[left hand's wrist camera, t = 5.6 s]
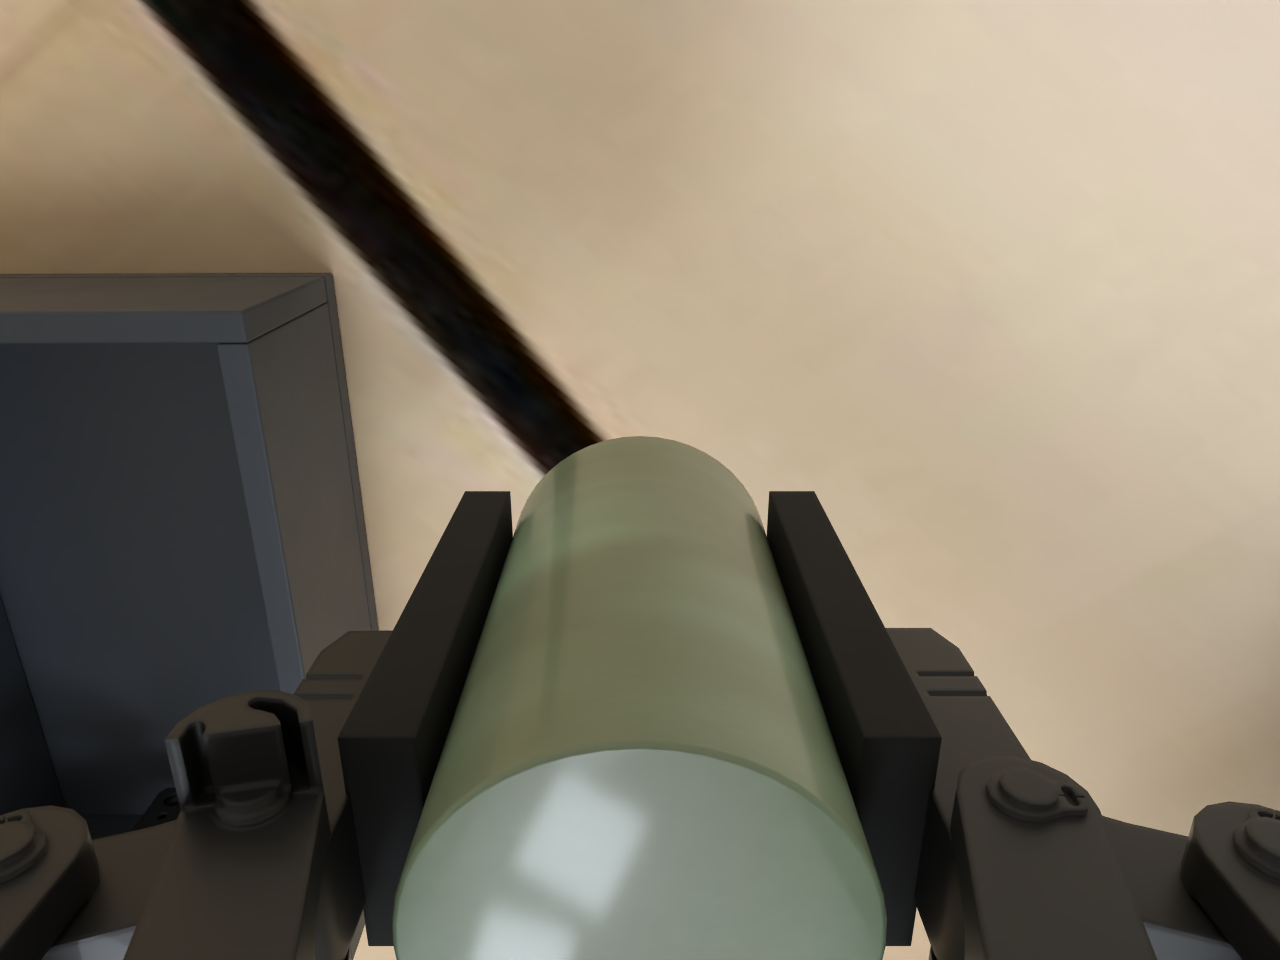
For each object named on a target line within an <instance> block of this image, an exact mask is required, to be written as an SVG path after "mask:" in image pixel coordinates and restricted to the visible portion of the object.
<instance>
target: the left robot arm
mask: <svg viewBox="0 0 1280 960" xmlns="http://www.w3.org/2000/svg"><path fill="white" fill-rule="evenodd" d="M512 539H513V533H512V515H511V498H510V491H465V493H464V495H463V497H462V499H461V501H460V503H459V505H458V507H457V508H456V510H455V512H454V514H453V516H452V518H451V520H450V522H449V524H448V526H447V528H446V530H445V532H444V533H443V535H442V537H441V539H440V541H439V543H438V545H437V547H436V549H435V551H434V553H433V555H432V557H431V559H430V560H429V562H428V564H427V566H426V568H425V570H424V572H423V574H422V576H421V578H420V580H419V582H418V584H417V585H416V587H415V589H414V591H413V593H412V595H411V597H410V599H409V601H408V603H407V605H406V607H405V609H404V611H403V612H402V614H401V616H400V618H399V620H398V622H397V624H396V626H395V628H394V630H393V631H348V632H347V633H345V634H344V635H343V636H341V637H340V638H338V639H337V640H336V641H334V642H333V643H332V644H330V645H329V646H327V647H326V648H325V649H323V650H322V651H321V652H320V654H319V655H318V657H317V658H316V660H315V661H314V663H313V664H312V666H311V668H310V669H309V671H308V672H307V674H306V679H303V680H302V681H301V683H300V685H299V686H298V688H297V689H296V691H295V692H294V694H290V693H286V692H282V691H250V692H246V693H241V694H236V695H232V696H227V697H224V698H222V699H219V700H217V701H214V702H212V703H210V704H207V705H205V706H203V707H200V708H198V709H197V710H195V711H194V712H192V713H191V714H190V715H188V716H187V717H185V718H184V719H182V720H181V721H180V722H178V723H177V724H176V725H175V727H174V728H173V729H172V731H171V732H170V733H169V734H168V736H167V737H166V738H165V740H164V741H165V746H166V750H167V754H168V758H169V762H170V767H171V771H172V775H173V779H174V784H175V788H176V792H177V796H178V801H179V805H180V809H181V811H180V814H179V816H178V819H177V820H174V821H170V822H167V823H163V824H160V825H157V826H153V827H149V828H145V829H140V830H136V831H131V832H127V833H122V834H118V835H113V836H109V837H104V838H100V839H95V840H91V836H90V833H89V829H88V826H87V822H86V820H85V819H84V818H83V817H82V816H80V815H79V814H78V813H77V812H76V811H75V810H74V809H69V808H63V807H57V806H52V805H50V806H41V807H33V808H24V809H20V810H17V811H13V812H10V813H7V814H3V815H0V960H351V954H350V948H349V946H350V944H351V941H352V938H353V936H354V933H355V930H356V927H357V925H358V922H359V919H360V917H361V914H362V911H363V912H364V918H365V925H366V932H367V938H368V945H369V946H394V945H393V928H392V915H393V907H394V900H395V893H396V890H397V887H398V884H399V881H400V877H401V874H402V871H403V868H404V865H405V862H406V859H407V856H408V853H409V850H410V847H411V844H412V841H413V838H414V835H415V832H416V829H417V826H418V823H419V820H420V817H421V814H422V811H423V808H424V805H425V802H426V799H427V796H428V792H429V789H430V786H431V783H432V780H433V777H434V774H435V771H436V768H437V765H438V762H439V759H440V756H441V753H442V750H443V747H444V744H445V741H446V738H447V735H448V732H449V729H450V726H451V723H452V720H453V717H454V714H455V711H456V708H457V705H458V702H459V699H460V696H461V693H462V690H463V687H464V684H465V681H466V678H467V675H468V672H469V669H470V666H471V663H472V660H473V657H474V654H475V651H476V648H477V645H478V642H479V639H480V636H481V633H482V630H483V627H484V624H485V621H486V618H487V615H488V612H489V609H490V606H491V603H492V600H493V597H494V593H495V590H496V587H497V584H498V581H499V578H500V575H501V572H502V569H503V566H504V563H505V560H506V557H507V554H508V551H509V548H510V545H511V542H512ZM767 540H768V543H769V546H770V549H771V552H772V555H773V558H774V561H775V564H776V567H777V570H778V573H779V576H780V579H781V582H782V585H783V588H784V591H785V594H786V597H787V601H788V604H789V607H790V610H791V613H792V616H793V619H794V622H795V625H796V628H797V631H798V634H799V637H800V640H801V643H802V646H803V649H804V652H805V655H806V658H807V661H808V664H809V667H810V670H811V673H812V677H813V680H814V683H815V686H816V689H817V692H818V695H819V698H820V701H821V704H822V707H823V710H824V713H825V716H826V719H827V722H828V725H829V728H830V731H831V734H832V737H833V740H834V743H835V746H836V749H837V753H838V756H839V759H840V762H841V765H842V768H843V771H844V774H845V777H846V780H847V783H848V786H849V789H850V792H851V795H852V798H853V801H854V804H855V807H856V810H857V813H858V816H859V819H860V822H861V825H862V829H863V832H864V835H865V838H866V841H867V844H868V847H869V850H870V853H871V856H872V859H873V862H874V865H875V868H876V871H877V874H878V878H879V881H880V884H881V887H882V890H883V894H884V900H885V907H886V915H887V929H886V945H885V946H911V941H912V934H913V928H914V921H915V914H916V908H918V911H919V914H920V917H921V919H922V922H923V925H924V927H925V930H926V933H927V936H928V938H929V941H930V944H931V948H930V954H929V960H1280V811H1276V810H1273V809H1270V808H1266V807H1263V806H1260V805H1254V804H1245V803H1236V802H1225V803H1219V804H1213V805H1208V806H1206V807H1205V808H1204V809H1202V810H1201V811H1200V812H1199V813H1198V814H1197V815H1196V816H1194V820H1193V823H1192V827H1191V830H1190V834H1189V837H1187V836H1183V835H1178V834H1174V833H1169V832H1165V831H1160V830H1156V829H1151V828H1147V827H1142V826H1138V825H1133V824H1129V823H1125V822H1122V821H1118V820H1115V819H1111V818H1108V817H1105V816H1102V815H1101V812H1100V810H1099V808H1098V807H1097V805H1096V804H1095V802H1094V801H1093V799H1092V798H1091V796H1090V795H1089V793H1088V792H1087V791H1086V790H1085V789H1084V788H1083V787H1081V786H1080V785H1079V784H1078V783H1076V782H1075V781H1074V780H1073V779H1071V778H1070V777H1069V776H1067V775H1066V774H1064V773H1062V772H1060V771H1058V770H1055V769H1053V768H1051V767H1049V766H1047V765H1045V764H1043V763H1040V762H1036V761H1032V760H1031V759H1030V758H1029V756H1028V754H1027V753H1026V751H1025V750H1024V748H1023V747H1022V745H1021V744H1020V742H1019V741H1018V739H1017V737H1016V736H1015V734H1014V733H1013V731H1012V730H1011V728H1010V727H1009V725H1008V724H1007V722H1006V720H1005V719H1004V717H1003V716H1002V714H1001V713H1000V711H999V710H998V708H997V707H996V705H995V703H994V702H993V700H992V699H991V697H990V696H987V694H986V692H987V691H986V690H985V688H984V686H983V685H982V683H981V682H980V680H979V679H978V677H977V676H974V671H973V669H972V668H971V666H970V665H969V663H968V662H967V660H966V659H965V657H964V656H963V654H962V652H961V651H960V649H959V648H958V647H956V646H955V645H953V644H952V643H951V642H949V641H948V640H947V639H945V638H944V637H942V636H941V635H940V634H938V633H937V632H935V631H934V630H933V629H931V628H885V627H884V625H883V623H882V621H881V619H880V617H879V615H878V613H877V612H876V610H875V608H874V606H873V604H872V602H871V600H870V598H869V596H868V594H867V592H866V590H865V588H864V586H863V585H862V583H861V581H860V579H859V577H858V575H857V573H856V571H855V569H854V567H853V565H852V563H851V561H850V559H849V558H848V556H847V554H846V552H845V550H844V548H843V546H842V544H841V542H840V540H839V538H838V536H837V534H836V532H835V531H834V529H833V527H832V525H831V523H830V521H829V519H828V517H827V515H826V513H825V511H824V509H823V507H822V506H821V504H820V502H819V500H818V498H817V496H816V494H815V492H814V491H769V507H768V525H767Z"/></svg>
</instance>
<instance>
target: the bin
mask: <svg viewBox="0 0 1280 960" xmlns="http://www.w3.org/2000/svg"><path fill="white" fill-rule="evenodd" d="M348 631H379V630H378V622H377V615H376V607H375V599H374V592H373V584H372V576H371V568H370V561H369V553H368V545H367V538H366V530H365V522H364V514H363V507H362V499H361V491H360V484H359V476H358V468H357V460H356V453H355V445H354V437H353V430H352V422H351V414H350V406H349V399H348V391H347V383H346V376H345V368H344V360H343V352H342V345H341V337H340V329H339V322H338V314H337V306H336V299H335V291H334V283H333V276H332V274H331V273H205V274H0V815H3V814H7V813H10V812H13V811H17V810H20V809H24V808H33V807H41V806H50V805H52V806H57V807H63V808H69V809H74V810H75V811H76V812H77V813H78V814H79V815H80V816H82V817H83V818H84V819H85V820H86V822H87V826H88V829H89V831H128V830H132V829H133V828H134V827H135V825H136V824H137V822H138V821H139V820H140V818H141V817H142V816H143V814H145V811H146V810H147V809H148V807H149V806H150V805H152V804H151V803H152V802H153V800H154V799H155V798H156V796H157V795H158V794H159V792H161V791H163V790H164V789H166V788H173V787H175V784H174V779H173V775H172V771H171V767H170V762H169V758H168V754H167V750H166V746H165V741H164V740H165V738H166V737H167V736H168V734H169V733H170V732H171V731H172V729H173V728H174V727H175V725H176V724H177V723H178V722H180V721H181V720H182V719H184V718H185V717H187V716H188V715H190V714H191V713H192V712H194V711H195V710H197V709H198V708H200V707H203V706H205V705H207V704H210V703H212V702H214V701H217V700H219V699H222V698H224V697H227V696H232V695H236V694H241V693H246V692H250V691H282V692H286V693H290V694H294V692H295V691H296V689H297V688H298V686H299V685H300V683H301V681H302V680H303V679H306V674H307V672H308V671H309V669H310V668H311V666H312V664H313V663H314V661H315V660H316V658H317V657H318V655H319V654H320V652H321V651H322V650H323V649H325V648H326V647H327V646H329V645H330V644H332V643H333V642H334V641H336V640H337V639H338V638H340V637H341V636H343V635H344V634H345V633H347V632H348ZM364 925H365V918H364V912H363V911H362V914H361V917H360V919H359V922H358V925H357V927H356V930H355V933H354V936H353V938H352V941H351V944H350V946H349V948H350V954H351V960H353V958H354V955H355V952H356V949H357V946H358V943H359V940H360V937H361V934H362V931H363V928H364Z"/></svg>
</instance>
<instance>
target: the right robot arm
mask: <svg viewBox="0 0 1280 960" xmlns="http://www.w3.org/2000/svg"><path fill="white" fill-rule="evenodd" d="M151 804H152V805H150V806H149V807H148V809H147V810H146V811H145V814H143V816H142V817H141V818H140V820H139V821H138V822H137V824H136V825H135V827H134V828H133V829H132V830H128V831H89V833H90V836H91V840H95V839H100V838H104V837H109V836H113V835H118V834H122V833H127V832H131V831H136V830H140V829H145V828H149V827H153V826H157V825H160V824H163V823H167V822H170V821H174V820H177V819H178V816H179V814H180V811H181V809H180V805H179V801H178V796H177V792H176V788H175V787H173V788H166V789H164V790H163V791H161V792H159V794H158V795H157V796H156V798H155V799H154V800H153V802H152V803H151Z"/></svg>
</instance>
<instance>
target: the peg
mask: <svg viewBox="0 0 1280 960" xmlns="http://www.w3.org/2000/svg"><path fill="white" fill-rule="evenodd" d="M392 928H393V945H394V950H395V954H396V958H397V960H882V959H883V954H884V950H885V945H886V929H887V915H886V907H885V900H884V894H883V890H882V887H881V884H880V881H879V878H878V874H877V871H876V868H875V865H874V862H873V859H872V856H871V853H870V850H869V847H868V844H867V841H866V838H865V835H864V832H863V829H862V825H861V822H860V819H859V816H858V813H857V810H856V807H855V804H854V801H853V798H852V795H851V792H850V789H849V786H848V783H847V780H846V777H845V774H844V771H843V768H842V765H841V762H840V759H839V756H838V753H837V749H836V746H835V743H834V740H833V737H832V734H831V731H830V728H829V725H828V722H827V719H826V716H825V713H824V710H823V707H822V704H821V701H820V698H819V695H818V692H817V689H816V686H815V683H814V680H813V677H812V673H811V670H810V667H809V664H808V661H807V658H806V655H805V652H804V649H803V646H802V643H801V640H800V637H799V634H798V631H797V628H796V625H795V622H794V619H793V616H792V613H791V610H790V607H789V604H788V601H787V597H786V594H785V591H784V588H783V585H782V582H781V579H780V576H779V573H778V570H777V567H776V564H775V561H774V558H773V555H772V552H771V549H770V546H769V543H768V540H767V537H766V534H765V531H764V528H763V525H762V521H761V518H760V515H759V512H758V510H757V508H756V506H755V504H754V502H753V500H752V498H751V496H750V495H749V493H748V492H747V490H746V489H745V487H744V486H743V484H742V483H741V482H740V481H739V480H738V479H737V478H736V477H735V475H734V474H733V473H732V472H731V471H729V470H728V469H727V468H726V467H725V466H724V465H722V464H721V463H720V462H719V461H717V460H716V459H714V458H712V457H711V456H709V455H708V454H706V453H704V452H702V451H700V450H698V449H696V448H694V447H692V446H689V445H686V444H683V443H680V442H677V441H673V440H668V439H663V438H658V437H642V436H638V437H622V438H617V439H612V440H606V441H603V442H600V443H597V444H594V445H591V446H588V447H586V448H584V449H582V450H580V451H578V452H576V453H574V454H572V455H571V456H569V457H567V458H566V459H564V460H563V461H561V462H560V463H559V464H557V465H556V466H555V467H554V468H553V469H552V470H550V471H549V472H548V473H547V474H546V475H545V476H544V478H543V479H542V480H541V481H540V482H539V483H538V484H537V486H536V487H535V489H534V490H533V492H532V493H531V495H530V496H529V497H528V499H527V502H526V504H525V506H524V508H523V510H522V512H521V515H520V518H519V521H518V524H517V527H516V530H515V533H514V536H513V539H512V542H511V545H510V548H509V551H508V554H507V557H506V560H505V563H504V566H503V569H502V572H501V575H500V578H499V581H498V584H497V587H496V590H495V593H494V597H493V600H492V603H491V606H490V609H489V612H488V615H487V618H486V621H485V624H484V627H483V630H482V633H481V636H480V639H479V642H478V645H477V648H476V651H475V654H474V657H473V660H472V663H471V666H470V669H469V672H468V675H467V678H466V681H465V684H464V687H463V690H462V693H461V696H460V699H459V702H458V705H457V708H456V711H455V714H454V717H453V720H452V723H451V726H450V729H449V732H448V735H447V738H446V741H445V744H444V747H443V750H442V753H441V756H440V759H439V762H438V765H437V768H436V771H435V774H434V777H433V780H432V783H431V786H430V789H429V792H428V796H427V799H426V802H425V805H424V808H423V811H422V814H421V817H420V820H419V823H418V826H417V829H416V832H415V835H414V838H413V841H412V844H411V847H410V850H409V853H408V856H407V859H406V862H405V865H404V868H403V871H402V874H401V877H400V881H399V884H398V887H397V890H396V893H395V900H394V907H393V915H392Z"/></svg>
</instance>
